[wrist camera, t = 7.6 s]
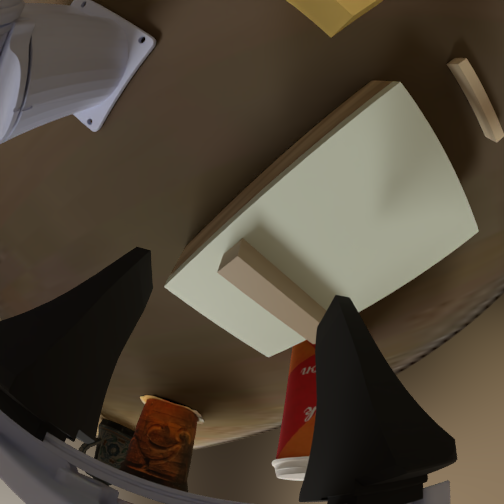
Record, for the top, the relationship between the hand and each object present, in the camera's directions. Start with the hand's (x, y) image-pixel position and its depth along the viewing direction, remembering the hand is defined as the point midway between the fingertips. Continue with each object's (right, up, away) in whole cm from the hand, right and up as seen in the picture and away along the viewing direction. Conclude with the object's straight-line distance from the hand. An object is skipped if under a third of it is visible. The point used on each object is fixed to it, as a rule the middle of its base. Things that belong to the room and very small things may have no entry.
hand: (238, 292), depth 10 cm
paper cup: (+7, -8, +17) cm, 20 cm away
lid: (+5, +2, +5) cm, 7 cm away
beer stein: (-47, -61, +63) cm, 99 cm away
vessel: (-15, -30, +36) cm, 49 cm away
